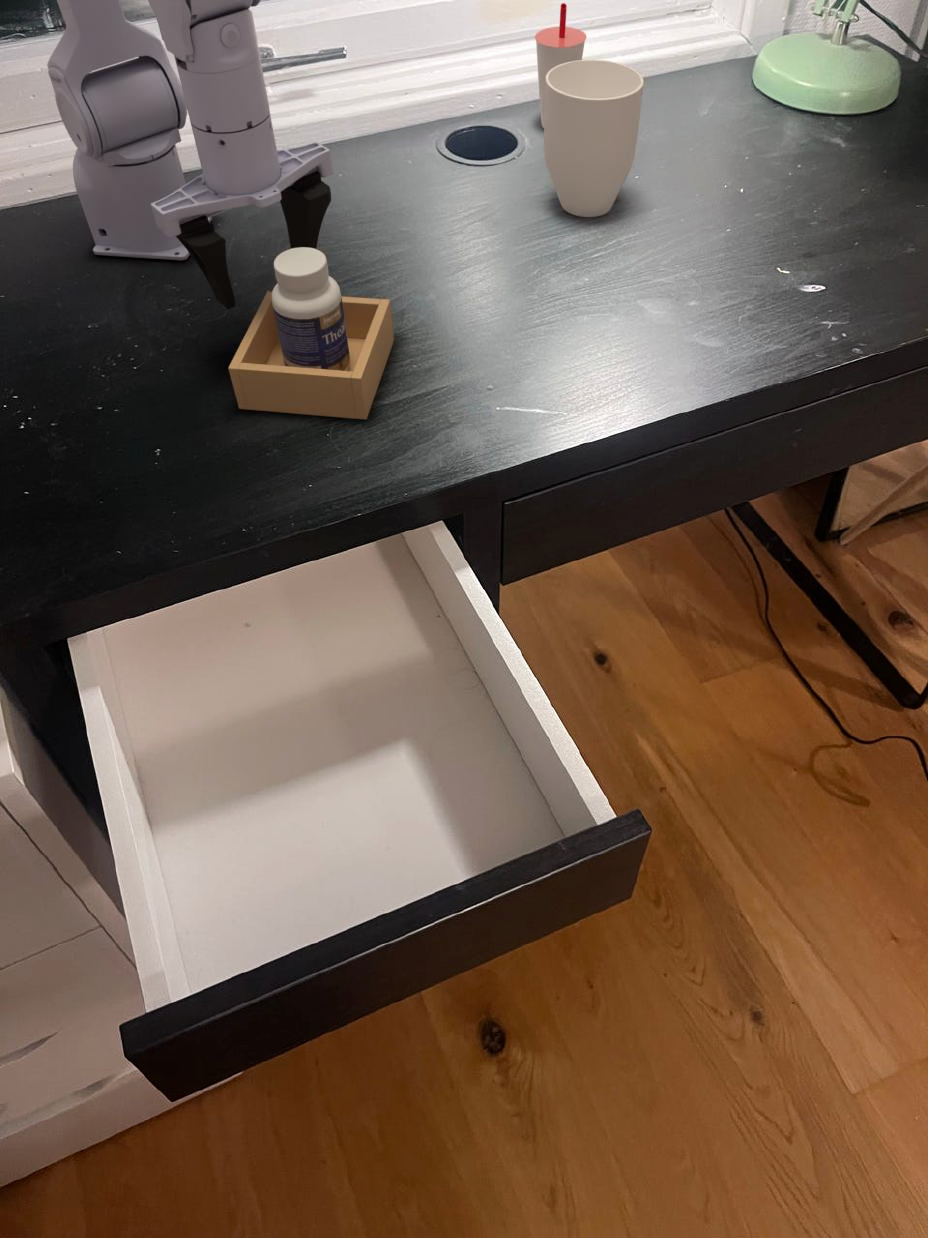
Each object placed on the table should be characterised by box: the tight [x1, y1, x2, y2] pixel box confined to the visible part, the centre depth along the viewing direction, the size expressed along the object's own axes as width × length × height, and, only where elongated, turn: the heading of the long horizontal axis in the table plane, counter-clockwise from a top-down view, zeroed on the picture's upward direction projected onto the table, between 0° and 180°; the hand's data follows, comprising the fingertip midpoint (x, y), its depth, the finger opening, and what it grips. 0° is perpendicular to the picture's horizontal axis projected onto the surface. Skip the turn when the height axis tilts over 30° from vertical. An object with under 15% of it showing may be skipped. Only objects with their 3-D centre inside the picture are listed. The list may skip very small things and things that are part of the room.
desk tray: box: [228, 290, 395, 421], centre depth 78 cm, size 11×11×4 cm
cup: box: [534, 2, 587, 129], centre depth 102 cm, size 5×5×12 cm
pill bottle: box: [271, 247, 350, 371], centre depth 75 cm, size 5×5×10 cm
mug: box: [543, 59, 645, 218], centre depth 92 cm, size 12×9×12 cm
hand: (266, 285), depth 79 cm, fingers open, 7 cm apart
